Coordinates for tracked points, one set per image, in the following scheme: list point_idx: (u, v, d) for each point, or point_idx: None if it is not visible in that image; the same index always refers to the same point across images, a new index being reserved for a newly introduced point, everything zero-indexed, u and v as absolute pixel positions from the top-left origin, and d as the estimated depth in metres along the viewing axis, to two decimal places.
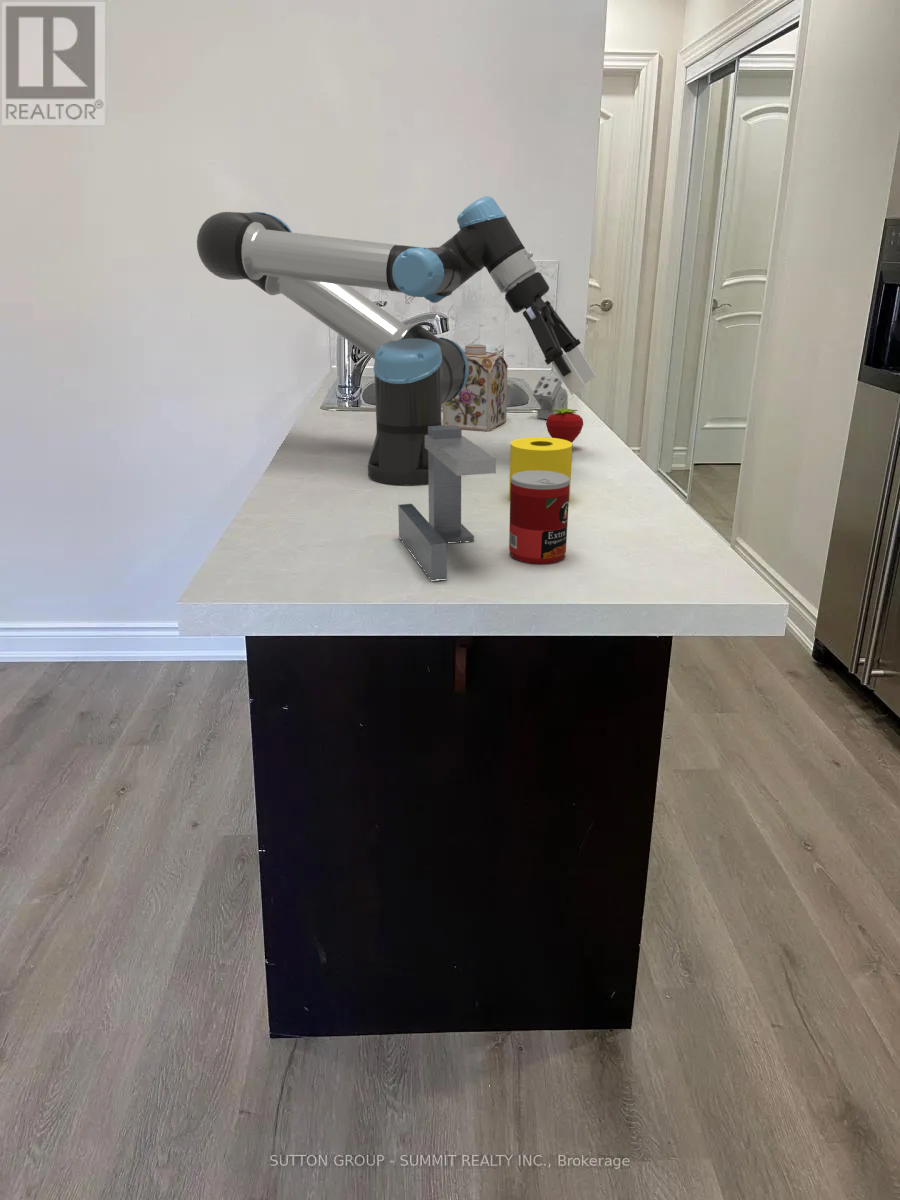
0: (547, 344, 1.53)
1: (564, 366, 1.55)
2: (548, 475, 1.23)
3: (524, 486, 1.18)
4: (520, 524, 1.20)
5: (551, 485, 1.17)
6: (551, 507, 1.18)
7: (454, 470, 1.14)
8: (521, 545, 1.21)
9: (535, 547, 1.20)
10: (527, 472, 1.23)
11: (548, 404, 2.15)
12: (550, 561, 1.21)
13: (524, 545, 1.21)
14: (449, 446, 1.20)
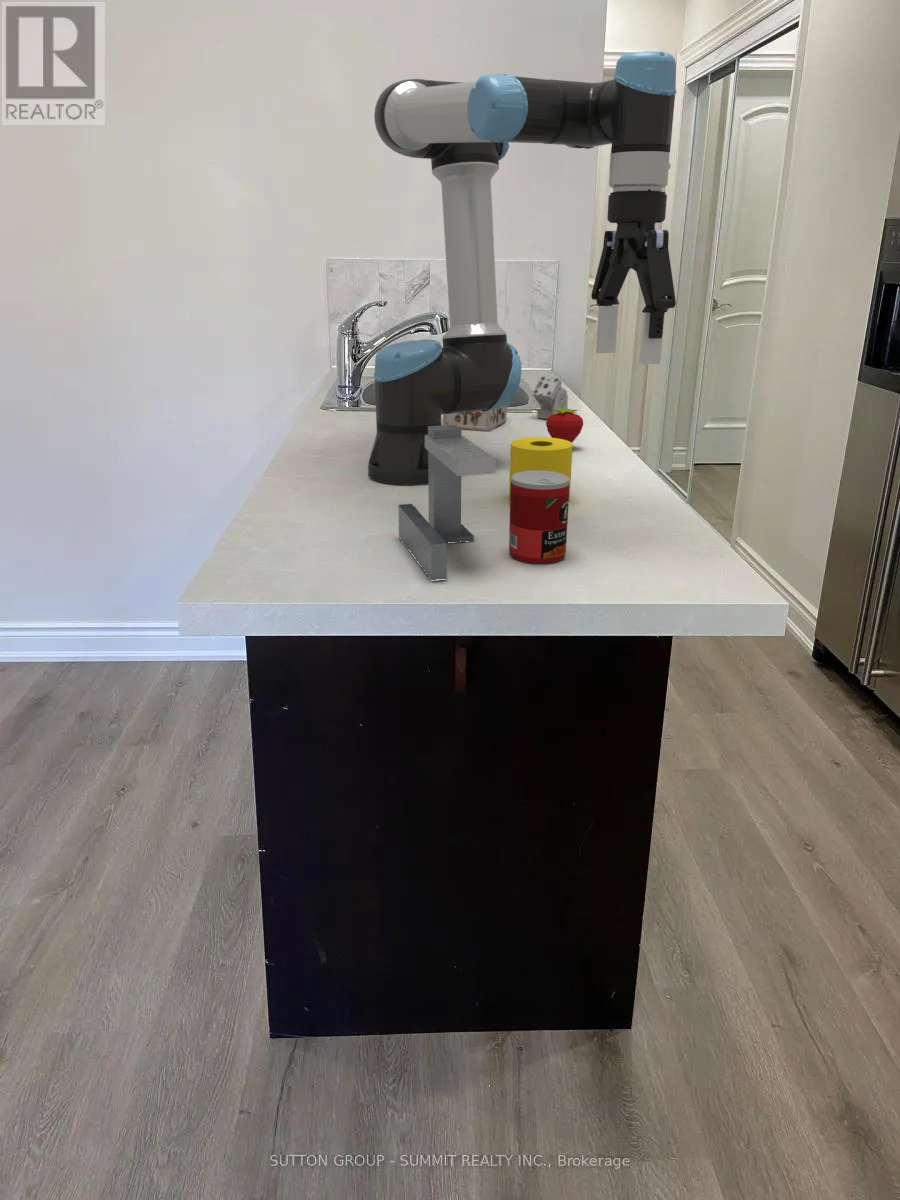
0: (666, 289, 1.14)
1: (661, 327, 1.17)
2: (548, 475, 1.23)
3: (524, 486, 1.18)
4: (520, 524, 1.20)
5: (551, 485, 1.17)
6: (551, 507, 1.18)
7: (454, 470, 1.14)
8: (521, 545, 1.21)
9: (535, 547, 1.20)
10: (527, 472, 1.23)
11: (548, 404, 2.15)
12: (550, 561, 1.21)
13: (524, 545, 1.21)
14: (449, 446, 1.20)
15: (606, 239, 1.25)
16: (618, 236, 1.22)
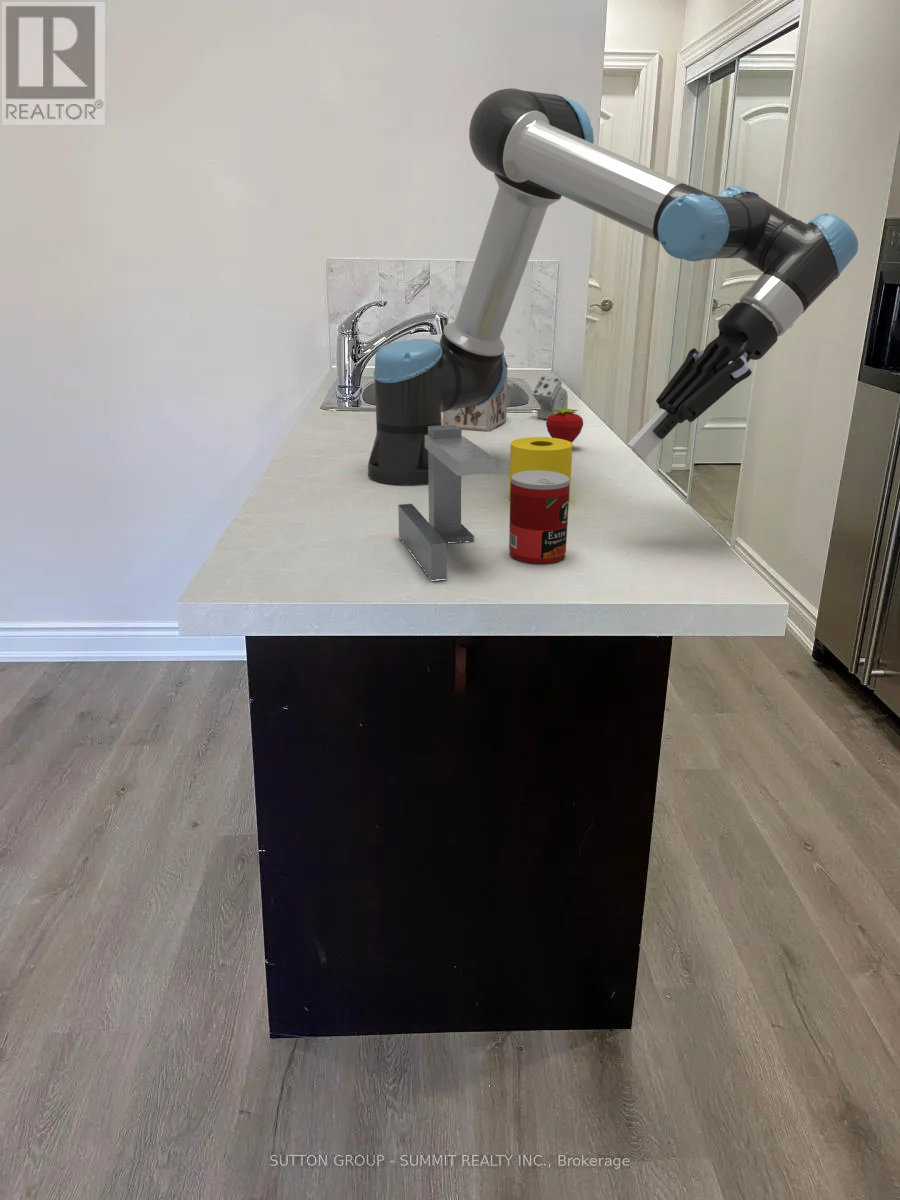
0: (698, 406, 1.18)
1: (668, 430, 1.21)
2: (548, 475, 1.23)
3: (524, 486, 1.18)
4: (520, 524, 1.20)
5: (551, 485, 1.17)
6: (551, 507, 1.18)
7: (454, 470, 1.14)
8: (521, 545, 1.21)
9: (535, 547, 1.20)
10: (527, 472, 1.23)
11: (548, 404, 2.15)
12: (550, 561, 1.21)
13: (524, 545, 1.21)
14: (449, 446, 1.20)
15: (692, 353, 1.25)
16: (714, 342, 1.23)
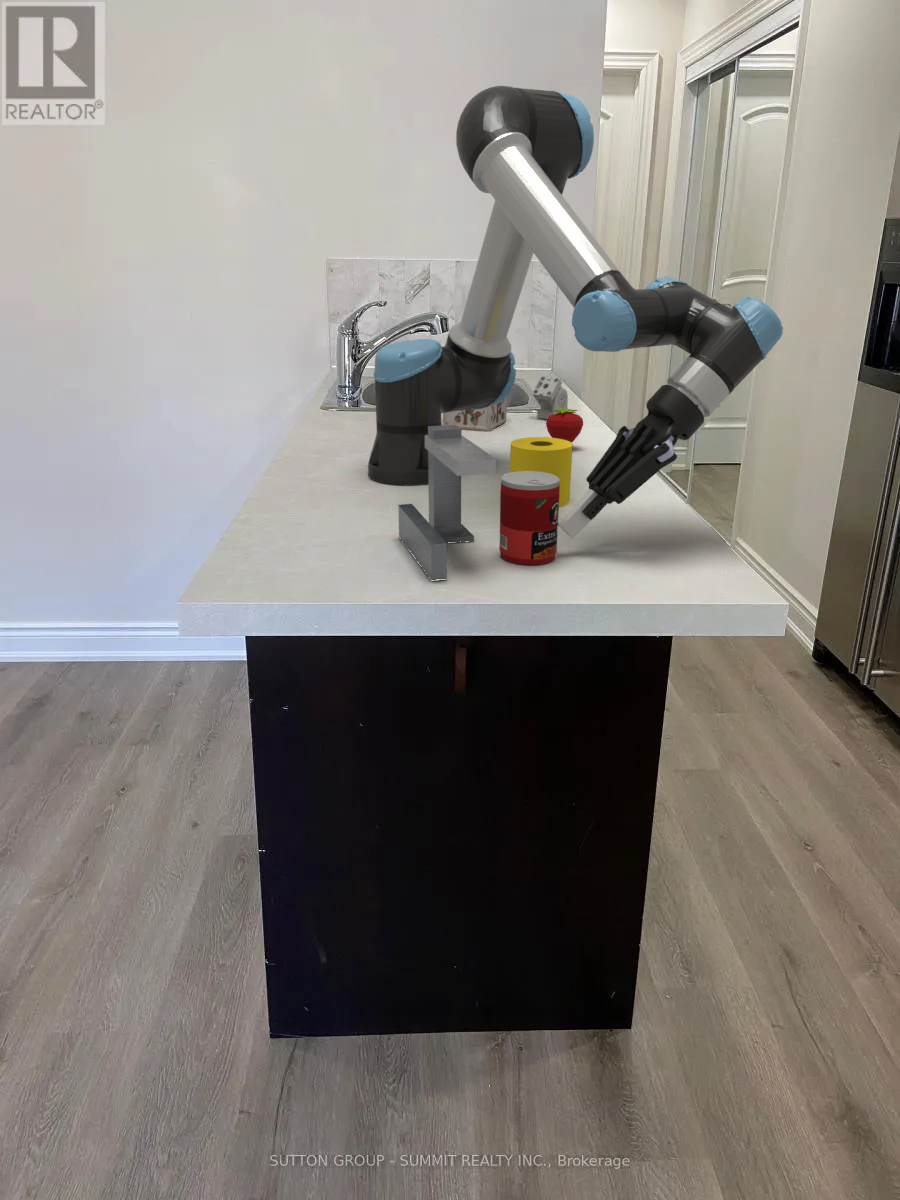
0: (625, 489, 1.19)
1: (597, 511, 1.21)
2: (538, 476, 1.22)
3: (514, 487, 1.17)
4: (510, 525, 1.20)
5: (541, 486, 1.16)
6: (541, 508, 1.18)
7: (454, 470, 1.14)
8: (511, 546, 1.20)
9: (525, 548, 1.20)
10: (517, 473, 1.23)
11: (548, 404, 2.15)
12: (540, 562, 1.21)
13: (514, 546, 1.20)
14: (449, 446, 1.20)
15: (622, 431, 1.26)
16: (643, 421, 1.24)
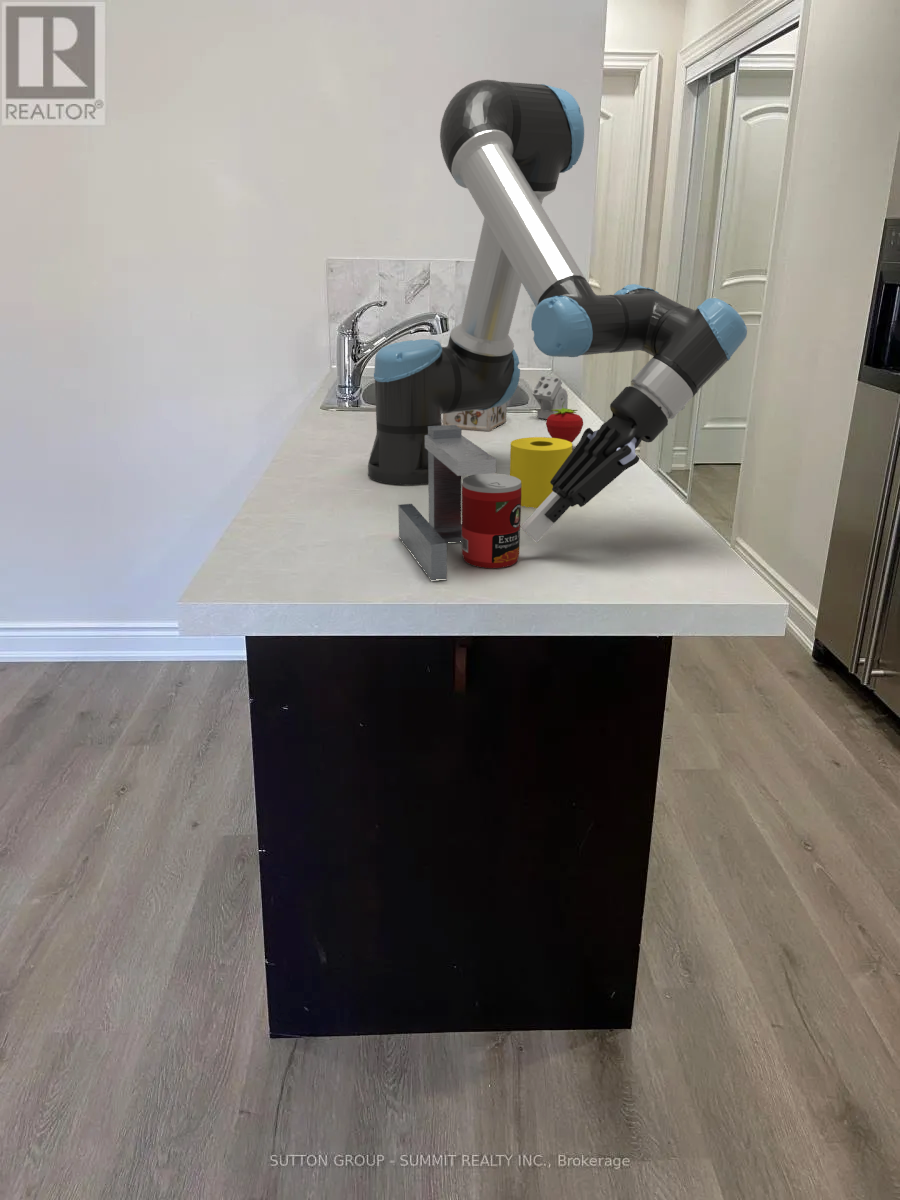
0: (588, 492, 1.18)
1: (560, 514, 1.20)
2: (501, 478, 1.21)
3: (474, 489, 1.16)
4: (470, 528, 1.18)
5: (501, 488, 1.15)
6: (501, 511, 1.16)
7: (454, 470, 1.14)
8: (472, 549, 1.19)
9: (486, 551, 1.18)
10: (480, 475, 1.22)
11: (548, 404, 2.15)
12: (501, 565, 1.19)
13: (475, 549, 1.19)
14: (449, 446, 1.20)
15: (586, 433, 1.25)
16: (607, 423, 1.23)
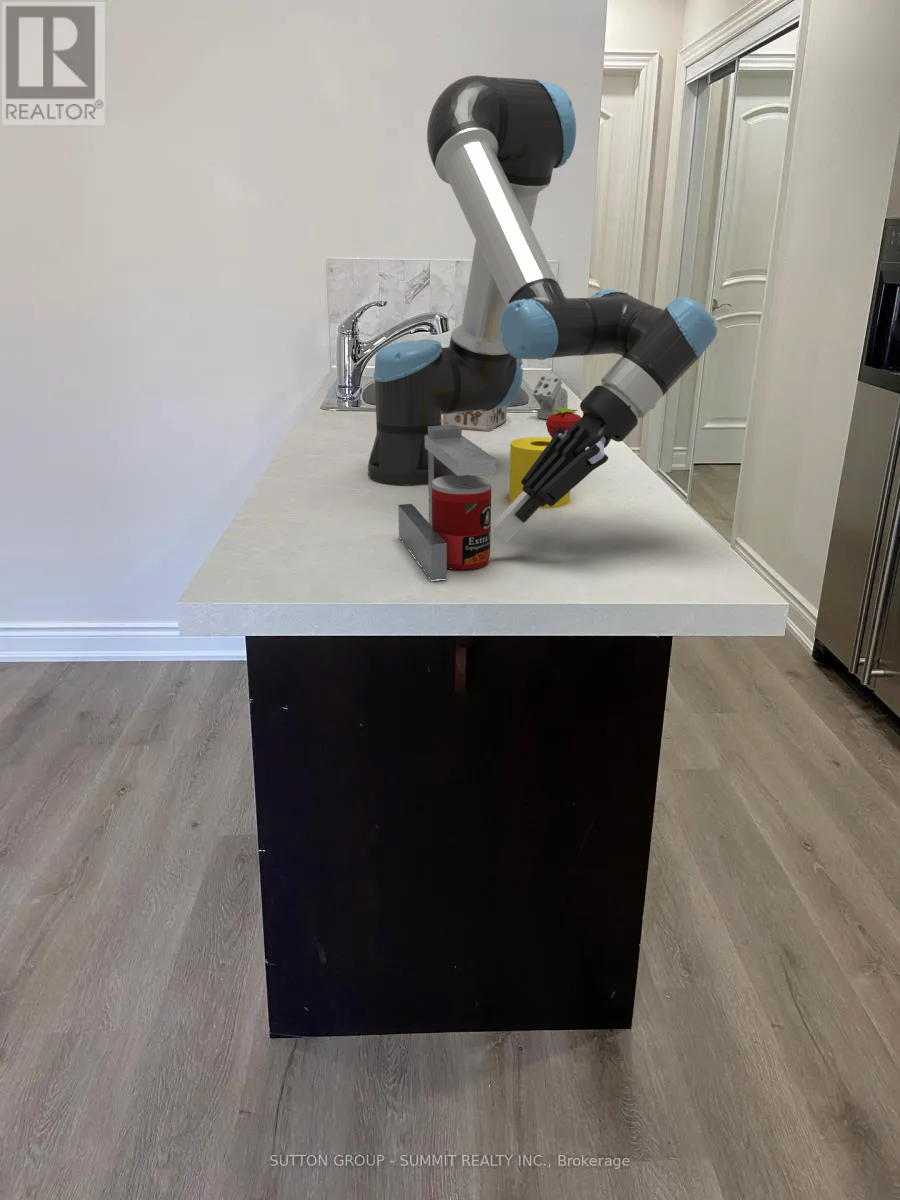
0: (557, 492, 1.17)
1: (529, 514, 1.20)
2: (471, 479, 1.20)
3: (443, 491, 1.15)
4: (440, 530, 1.18)
5: (470, 490, 1.15)
6: (471, 512, 1.16)
7: (454, 470, 1.14)
8: None
9: (456, 552, 1.18)
10: (450, 476, 1.21)
11: (548, 404, 2.15)
12: (472, 567, 1.19)
13: None
14: (449, 446, 1.20)
15: (557, 432, 1.24)
16: (577, 423, 1.22)
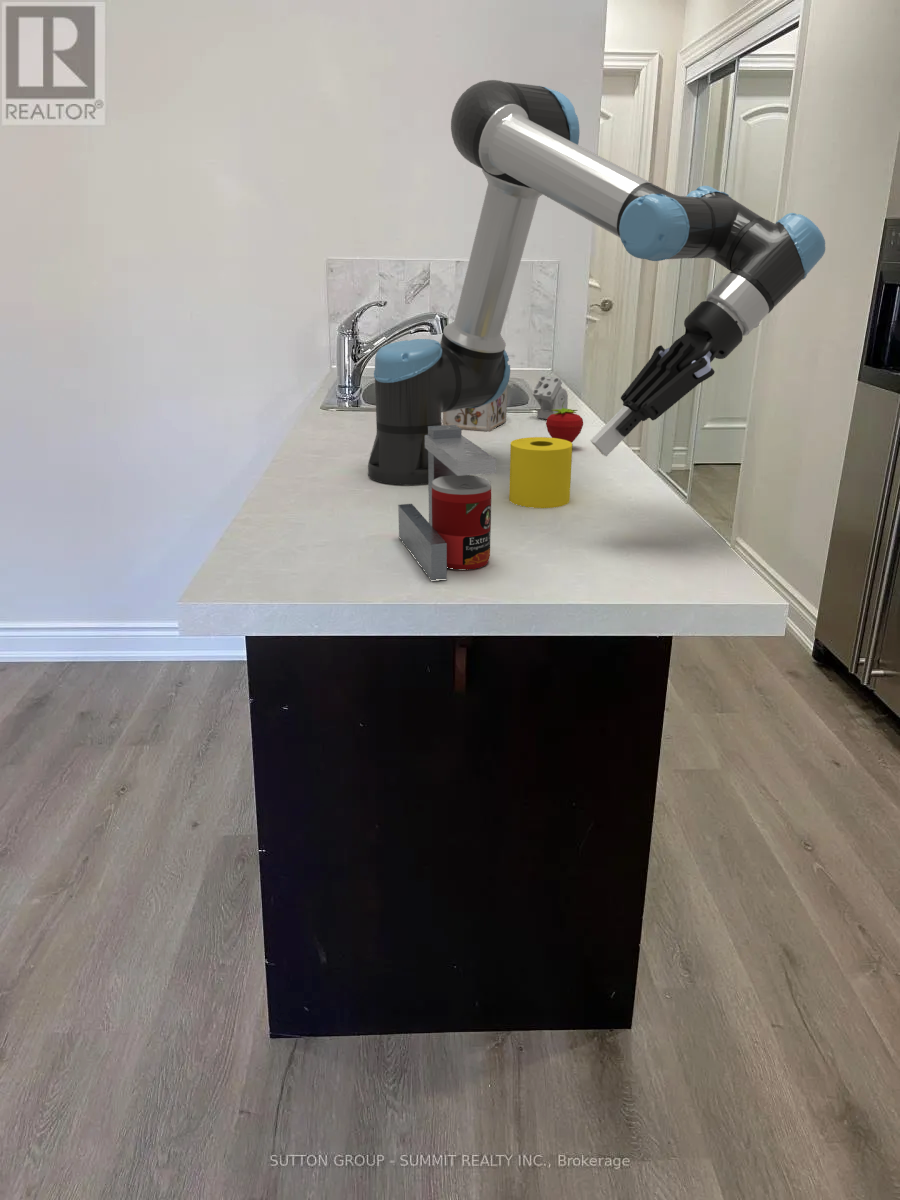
0: (661, 405, 1.18)
1: (631, 427, 1.21)
2: (471, 480, 1.20)
3: (444, 491, 1.15)
4: (441, 530, 1.18)
5: (471, 490, 1.15)
6: (471, 512, 1.16)
7: (454, 470, 1.14)
8: None
9: (456, 553, 1.18)
10: (450, 476, 1.21)
11: (548, 404, 2.15)
12: (472, 567, 1.19)
13: None
14: (449, 446, 1.20)
15: (658, 350, 1.25)
16: (680, 340, 1.23)
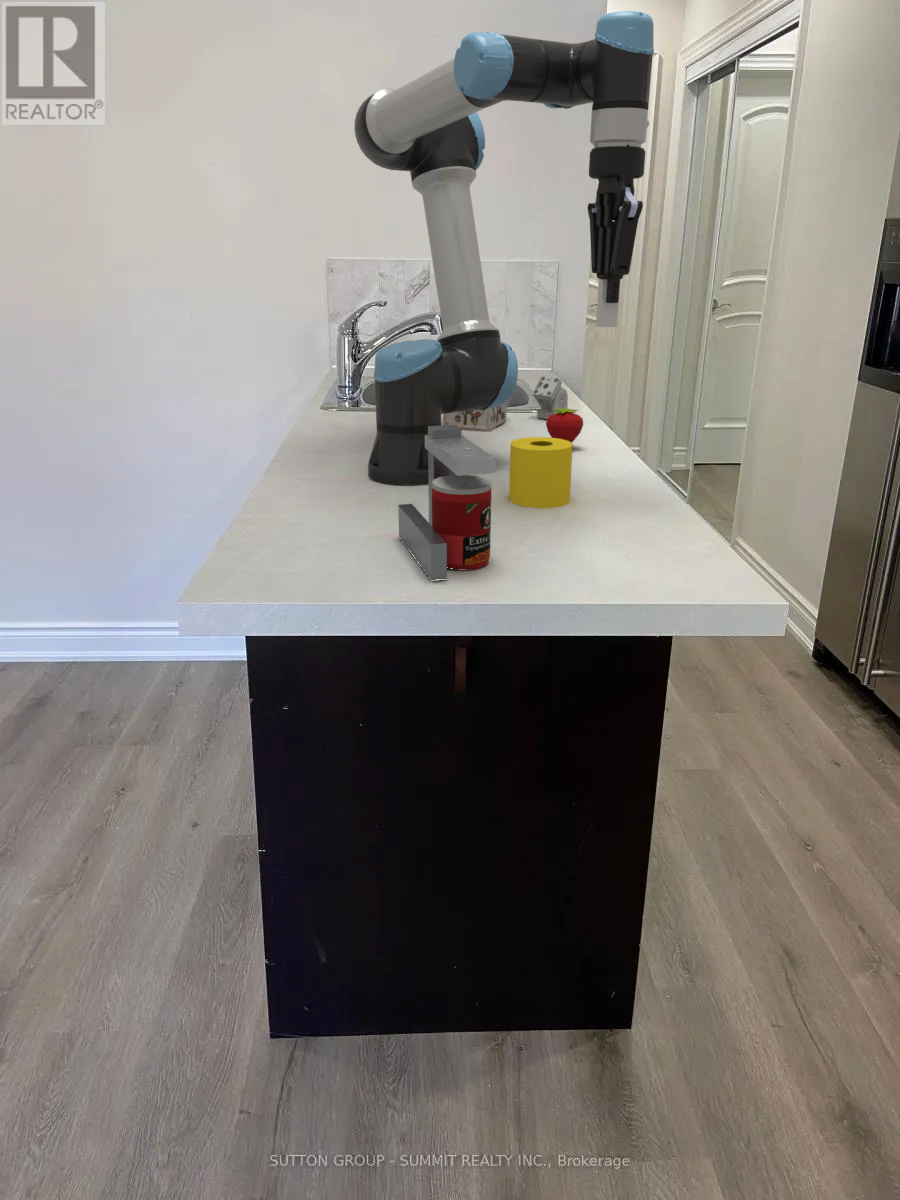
0: (624, 260, 1.25)
1: (617, 292, 1.29)
2: (471, 480, 1.20)
3: (444, 491, 1.15)
4: (441, 530, 1.18)
5: (471, 490, 1.15)
6: (471, 512, 1.16)
7: (454, 470, 1.14)
8: None
9: (456, 553, 1.18)
10: (450, 476, 1.21)
11: (548, 404, 2.15)
12: (472, 567, 1.19)
13: None
14: (449, 446, 1.20)
15: (590, 209, 1.31)
16: (599, 190, 1.28)
